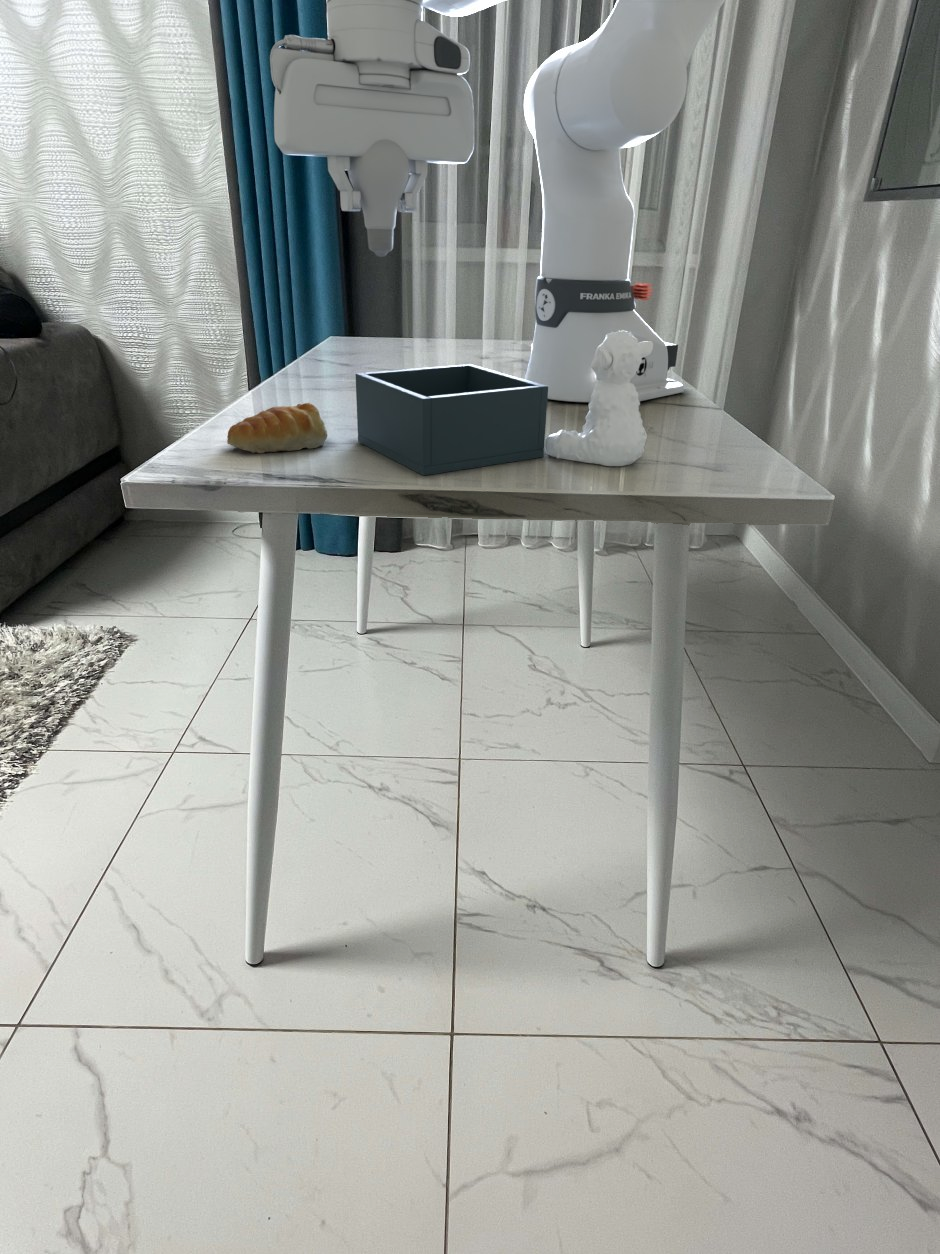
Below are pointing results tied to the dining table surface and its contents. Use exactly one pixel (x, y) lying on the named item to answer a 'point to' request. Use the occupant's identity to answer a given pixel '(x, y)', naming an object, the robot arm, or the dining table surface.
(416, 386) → the bin
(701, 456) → the dining table surface
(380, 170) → the lightbulb
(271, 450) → the pastry
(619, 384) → the sitting furry creature
